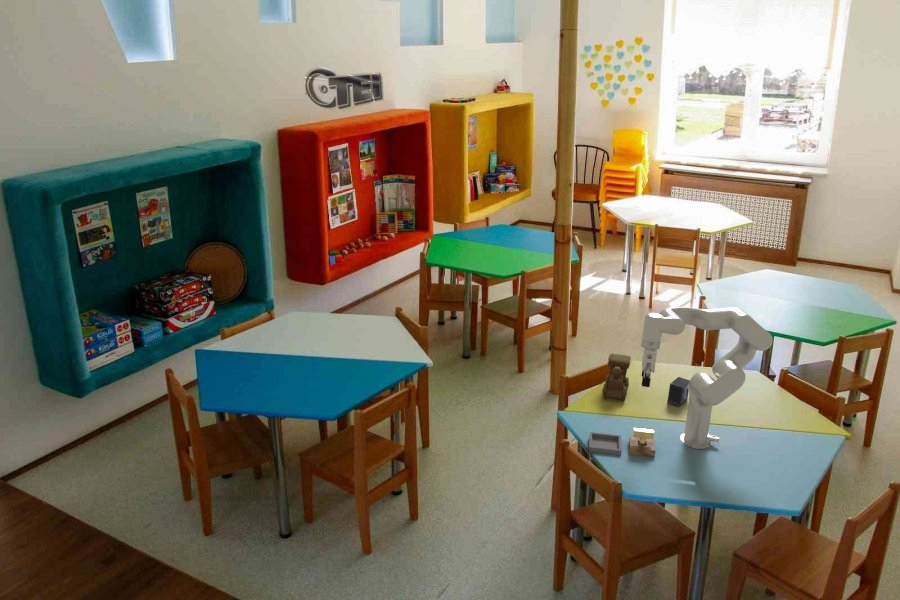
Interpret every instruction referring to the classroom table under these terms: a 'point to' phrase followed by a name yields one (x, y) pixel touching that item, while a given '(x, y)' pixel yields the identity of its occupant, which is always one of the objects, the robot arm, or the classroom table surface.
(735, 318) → the robot arm
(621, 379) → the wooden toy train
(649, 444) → the socket block
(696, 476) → the classroom table surface
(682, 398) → the small box
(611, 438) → the tray
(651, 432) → the t key
